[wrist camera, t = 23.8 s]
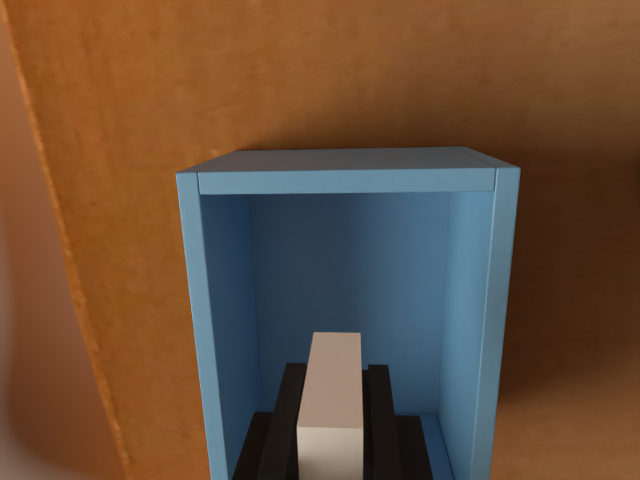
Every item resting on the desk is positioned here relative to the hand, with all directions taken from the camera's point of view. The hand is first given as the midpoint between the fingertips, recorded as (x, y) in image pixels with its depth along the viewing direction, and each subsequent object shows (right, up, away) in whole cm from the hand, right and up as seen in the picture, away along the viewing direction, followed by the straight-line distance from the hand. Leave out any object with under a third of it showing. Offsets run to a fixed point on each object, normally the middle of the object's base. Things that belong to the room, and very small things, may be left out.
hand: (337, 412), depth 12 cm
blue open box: (+1, +2, +13) cm, 13 cm away
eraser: (0, 0, 0) cm, 0 cm away
